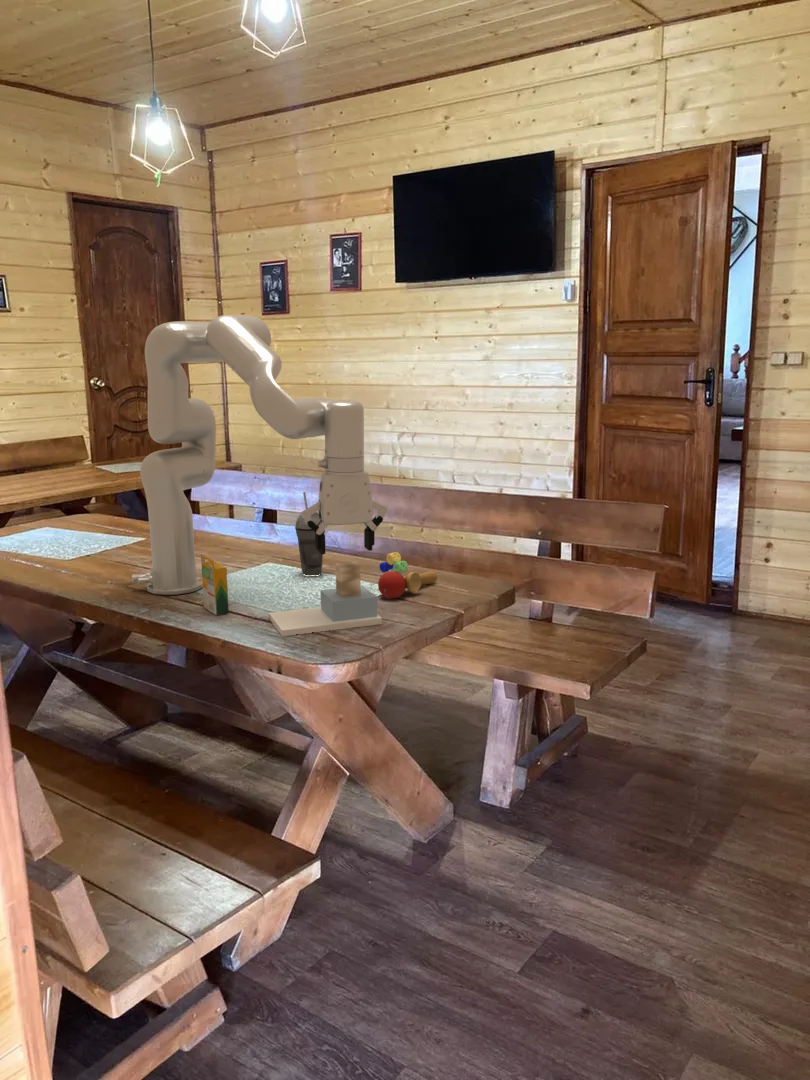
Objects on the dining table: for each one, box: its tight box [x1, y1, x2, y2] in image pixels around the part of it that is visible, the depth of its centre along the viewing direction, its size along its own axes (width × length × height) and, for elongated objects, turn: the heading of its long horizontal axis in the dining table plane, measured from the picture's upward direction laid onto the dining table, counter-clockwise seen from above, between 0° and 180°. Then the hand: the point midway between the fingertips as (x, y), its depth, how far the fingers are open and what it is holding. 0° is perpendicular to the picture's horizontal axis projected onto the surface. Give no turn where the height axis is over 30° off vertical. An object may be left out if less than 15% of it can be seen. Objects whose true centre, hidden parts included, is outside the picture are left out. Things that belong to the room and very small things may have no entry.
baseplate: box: [268, 585, 383, 637], centre depth 173 cm, size 20×12×5 cm, turn 111°
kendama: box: [377, 570, 438, 600], centre depth 194 cm, size 8×6×18 cm
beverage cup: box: [294, 491, 326, 575], centre depth 208 cm, size 7×7×20 cm
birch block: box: [335, 560, 362, 597], centre depth 174 cm, size 4×4×6 cm
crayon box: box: [200, 553, 230, 616], centre depth 181 cm, size 7×3×12 cm, turn 33°
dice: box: [379, 551, 409, 576], centre depth 205 cm, size 8×3×6 cm, turn 41°
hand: (345, 551), depth 173 cm, fingers open, 9 cm apart
